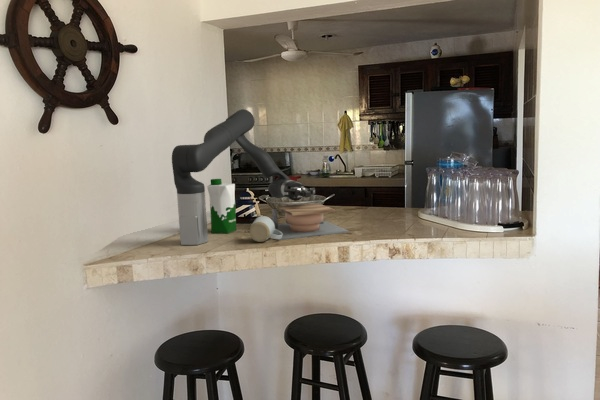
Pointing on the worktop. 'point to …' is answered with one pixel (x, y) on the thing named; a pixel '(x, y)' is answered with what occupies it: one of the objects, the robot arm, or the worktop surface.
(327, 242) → the worktop surface
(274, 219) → the hinge posts
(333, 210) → the cover sheet
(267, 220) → the ceramic mug
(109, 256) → the worktop surface
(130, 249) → the worktop surface
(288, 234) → the slate mat
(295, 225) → the terracotta bowl
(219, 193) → the milk carton
